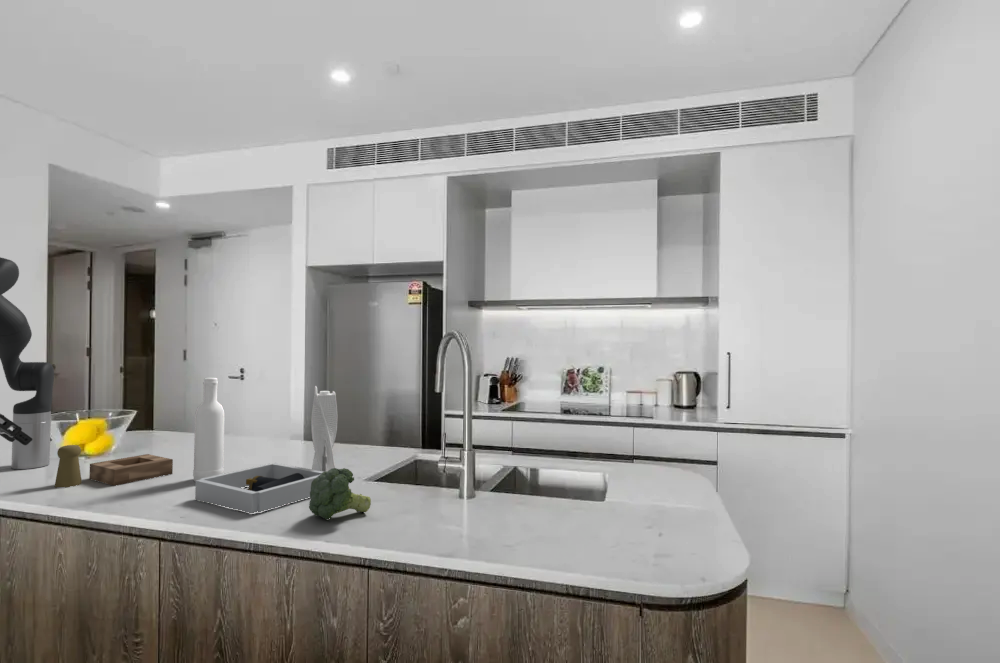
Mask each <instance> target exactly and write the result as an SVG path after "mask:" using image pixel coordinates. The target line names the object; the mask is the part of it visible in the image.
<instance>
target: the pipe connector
mask: <svg viewBox="0 0 1000 663" xmlns="http://www.w3.org/2000/svg"><path fill="white" fill-rule="evenodd" d="M302 479H305V478H304V477H303V475H301V474H300V473H295V474H292V475H289V476H286V477H283V478H281V479H275V478H268V477H263V476H255V477H254V478H253V479H251V478H249V479H246V485H249V487H248V488H245V489H246V490H250V491H255V492H257V491H261V490H265V489H268V488H272V487H276V486H280V485H283V484H287V483H291V482H294V481H298V480H302Z"/></svg>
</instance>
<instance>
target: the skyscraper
mask: <svg viewBox="0 0 1000 663" xmlns="http://www.w3.org/2000/svg"><path fill="white" fill-rule="evenodd" d="M313 395H314V396H313V401H312V407H311V421H310V422H311V424H310V427H311V428H310V429H311V431H310V432H311V438H312V444H313V449H314V453H313V454H314V455H313V459H312V466H311V469H312V470H317V471H323V472H325V471H329V470H330V469H332V468H336V465H335V463H336V462H335V458H334V452H333V451H334V450H333V448H334V446H335V442H336V436H337V431H338V419H339V416H338V414H339V413H338V403H337V396H336V395H337V393H336V392H335V391H334V390H332V392H331V391H329V390H320V391H319V393H318V387H317V385H315V386H314V394H313Z"/></svg>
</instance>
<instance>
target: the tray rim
mask: <svg viewBox="0 0 1000 663" xmlns="http://www.w3.org/2000/svg"><path fill="white" fill-rule="evenodd" d="M295 473H300V474H301V475H303V477H304V478H305V479H302V480H298V481H294V482H291V483H287V484H283V485H280V486H276V487H272V488H268V489H265V490H261V491H257V492H255V491H250V490H246V489H247V488H244V489H242V488H241V487H245V486H249V485H246V479H249V478H251V479H253V478H254V477H255V476H263V477H268V478H275V479H281V478H283V477H286V476H289V475H292V474H295ZM321 473H323V471H317V470H312V468H306V467H301V466H296V465H295V466H294V465H291V464H290V465H289V464H285V463H278V462H274V463H265V464H260V465H256V466H252V467H248V468H244V469H243V468H242V469H238V470H234V471H230V472H226V473H225V472H223V474H220V475H215V476H211V477H206V478H202V479H200V480H196V482H195V491H194V492H195V493H194V494H195V497H194V500H195V499H196V500H200V501H204V502H209V503H213V504H217V505H221V506H225V507H229V508H233V509H238V510H242V511H245V512H249V513H254V512H257V511H258V512H261V511H264V510H268V509H271V508H275V507H278V506H282V505H284V504H288V503H291V502H295V501H298V500H301V499H305V498H308V497H310V492H311V483H312V481H313V480H314V479H315V478H316V477H318V476H319V475H321ZM196 500H195V501H196ZM200 501H199V502H200ZM204 502H203V503H204Z"/></svg>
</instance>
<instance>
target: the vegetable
mask: <svg viewBox="0 0 1000 663" xmlns="http://www.w3.org/2000/svg"><path fill="white" fill-rule="evenodd" d="M354 481H355V476H354V473H353V472H352V471H351V470H350V469H349V468H345V467H344V468H337V467H335V468H332V469H330V470H329V471H325V472H323V473H321V475H319V476H318V477H316V478H315V479H314V480H313V481H312V483H311V492H310V498H309V500H310V501H309V503H308V508H309V511H310V512H311V513H312V514H313V515H314V516H316V517H319V516H320V518H323V519H324V518H325V519H324V520H326V519H329V518H331V519H332V517H333V516H334V515H336V514H338V513H339V514H340V513H343V512H345V511H347V510H355V511H356V512H357V513H362V512H365V513H366V512H368V511H369V509H370V508H371V505H372V499H371V497H370V496H367V495H363V494H361V493H359V494H358V493H354V492H352V489H351V488H350V487H349V486H350V485H349V484H352V483H353V482H354ZM358 511H360V512H358Z"/></svg>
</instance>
